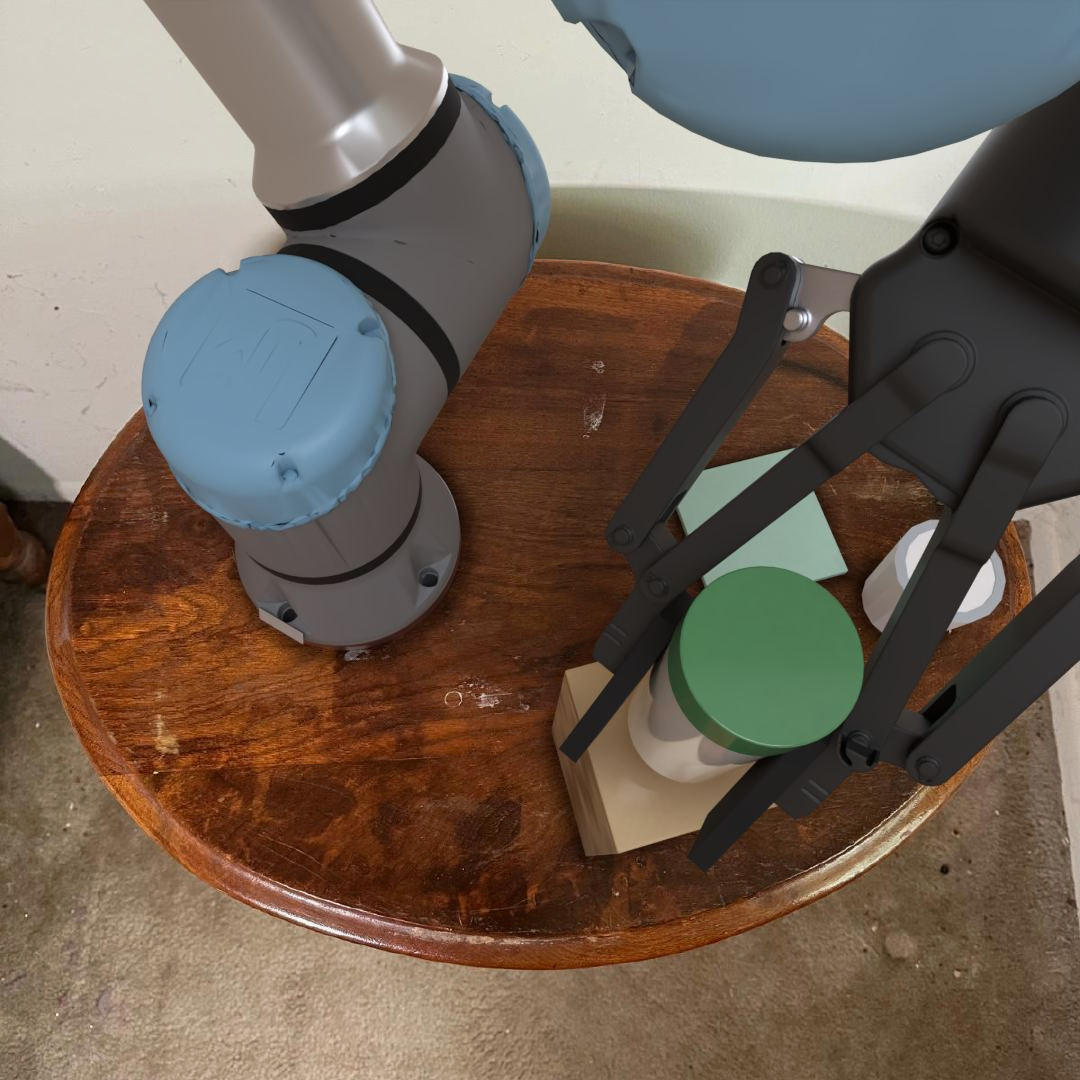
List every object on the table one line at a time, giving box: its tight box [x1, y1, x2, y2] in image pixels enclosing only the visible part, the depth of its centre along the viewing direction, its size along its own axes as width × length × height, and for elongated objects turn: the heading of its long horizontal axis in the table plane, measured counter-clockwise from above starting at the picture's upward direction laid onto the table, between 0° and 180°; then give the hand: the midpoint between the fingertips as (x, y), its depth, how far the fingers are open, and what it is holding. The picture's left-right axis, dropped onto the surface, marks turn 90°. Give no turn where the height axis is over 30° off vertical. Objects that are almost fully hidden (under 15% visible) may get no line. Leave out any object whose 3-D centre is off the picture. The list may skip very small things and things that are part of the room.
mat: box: [675, 447, 849, 588], centre depth 59 cm, size 10×10×1 cm
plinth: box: [550, 661, 778, 857], centre depth 44 cm, size 8×8×18 cm
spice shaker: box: [628, 566, 865, 783], centre depth 28 cm, size 5×5×12 cm
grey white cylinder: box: [861, 519, 1007, 633], centre depth 54 cm, size 7×7×7 cm
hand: (643, 788), depth 29 cm, fingers closed on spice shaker, 5 cm apart
